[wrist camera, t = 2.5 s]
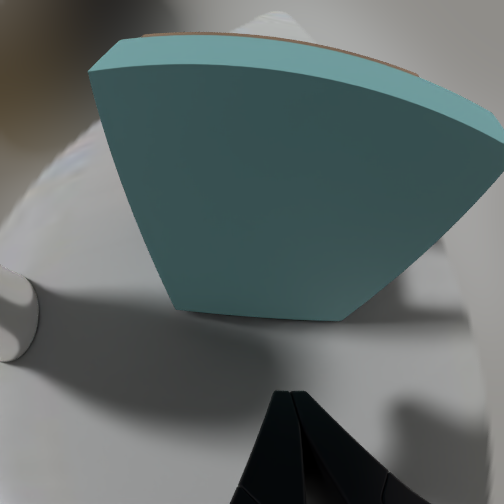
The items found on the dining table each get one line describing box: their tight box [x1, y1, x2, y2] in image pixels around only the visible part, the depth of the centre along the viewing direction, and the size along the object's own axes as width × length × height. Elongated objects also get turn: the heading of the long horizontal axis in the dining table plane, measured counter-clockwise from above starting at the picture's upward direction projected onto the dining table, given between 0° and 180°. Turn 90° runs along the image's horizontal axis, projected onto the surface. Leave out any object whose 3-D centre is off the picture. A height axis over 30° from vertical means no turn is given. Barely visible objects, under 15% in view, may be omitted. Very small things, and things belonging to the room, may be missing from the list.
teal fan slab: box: [88, 35, 504, 321], centre depth 11 cm, size 7×9×13 cm
